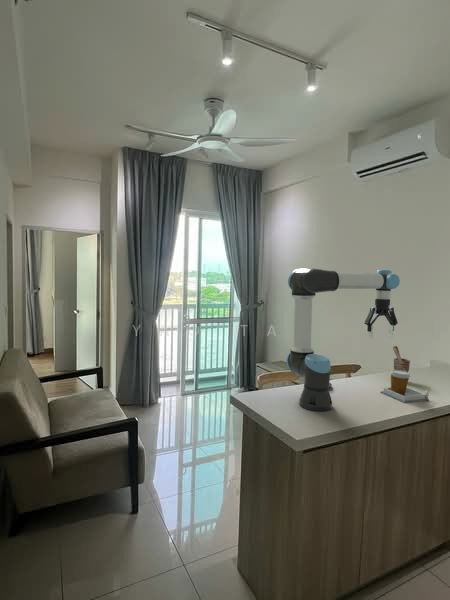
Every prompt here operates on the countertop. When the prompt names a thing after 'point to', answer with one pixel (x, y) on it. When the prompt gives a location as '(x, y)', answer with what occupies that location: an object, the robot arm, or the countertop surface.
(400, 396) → the tray
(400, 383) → the disposable coffee cup
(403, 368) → the mortar and pestle
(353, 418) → the countertop surface
